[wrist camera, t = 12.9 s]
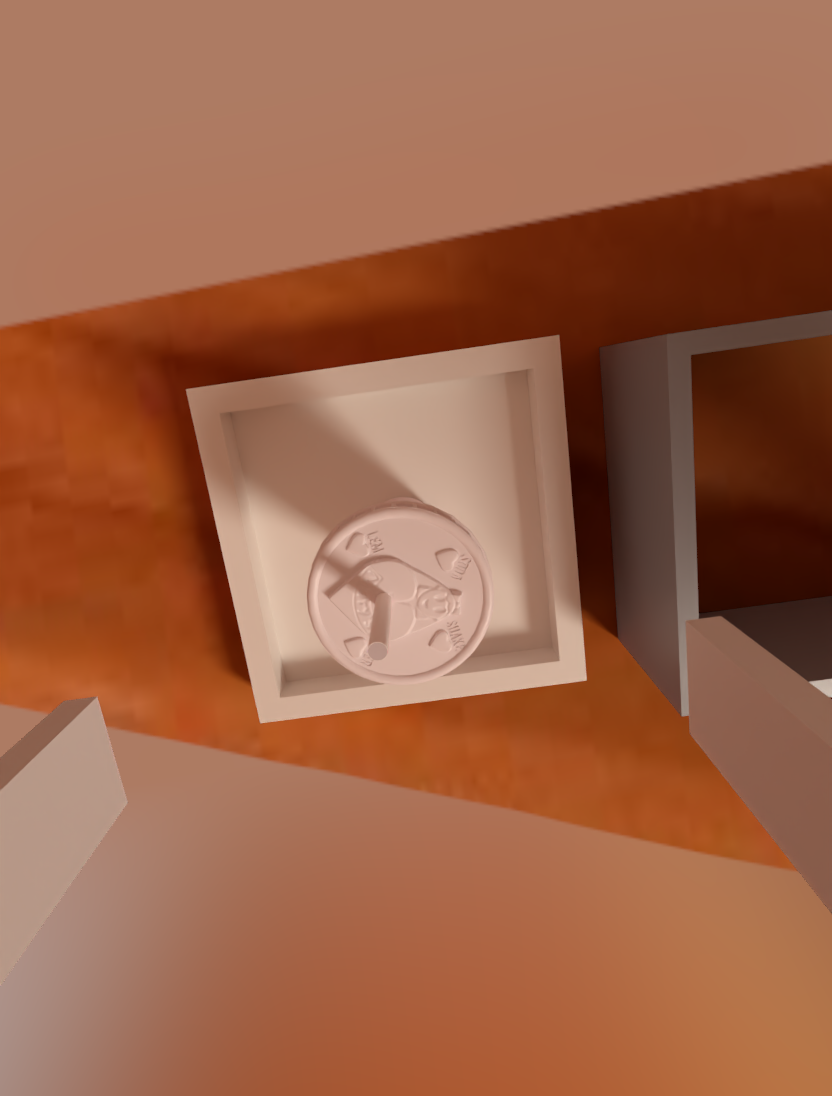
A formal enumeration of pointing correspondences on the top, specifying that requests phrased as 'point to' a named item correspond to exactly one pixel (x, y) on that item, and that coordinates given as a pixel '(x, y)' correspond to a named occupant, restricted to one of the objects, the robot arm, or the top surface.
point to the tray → (385, 473)
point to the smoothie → (400, 592)
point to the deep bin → (685, 508)
